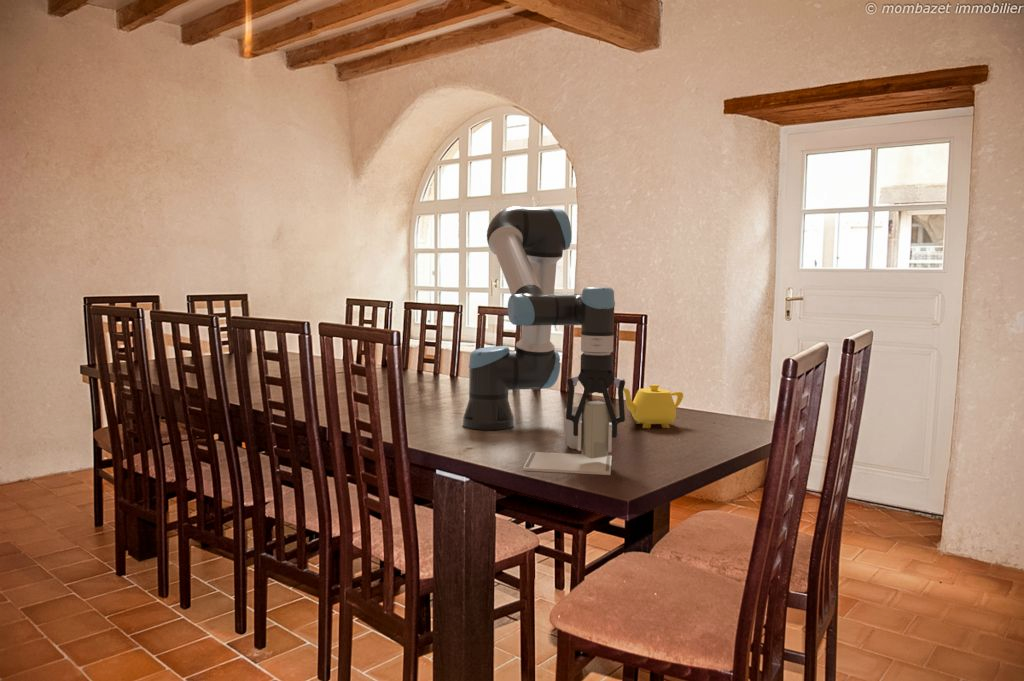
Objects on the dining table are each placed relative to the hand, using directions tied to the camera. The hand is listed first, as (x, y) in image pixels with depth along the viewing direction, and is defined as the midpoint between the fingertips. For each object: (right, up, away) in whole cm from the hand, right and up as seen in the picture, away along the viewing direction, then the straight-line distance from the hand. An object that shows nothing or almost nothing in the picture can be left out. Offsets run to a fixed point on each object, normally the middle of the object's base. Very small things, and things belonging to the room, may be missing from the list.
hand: (594, 449), depth 176 cm
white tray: (-6, -4, +1) cm, 7 cm away
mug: (-2, -2, +21) cm, 21 cm away
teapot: (+22, 0, +49) cm, 54 cm away
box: (0, -2, 0) cm, 2 cm away
